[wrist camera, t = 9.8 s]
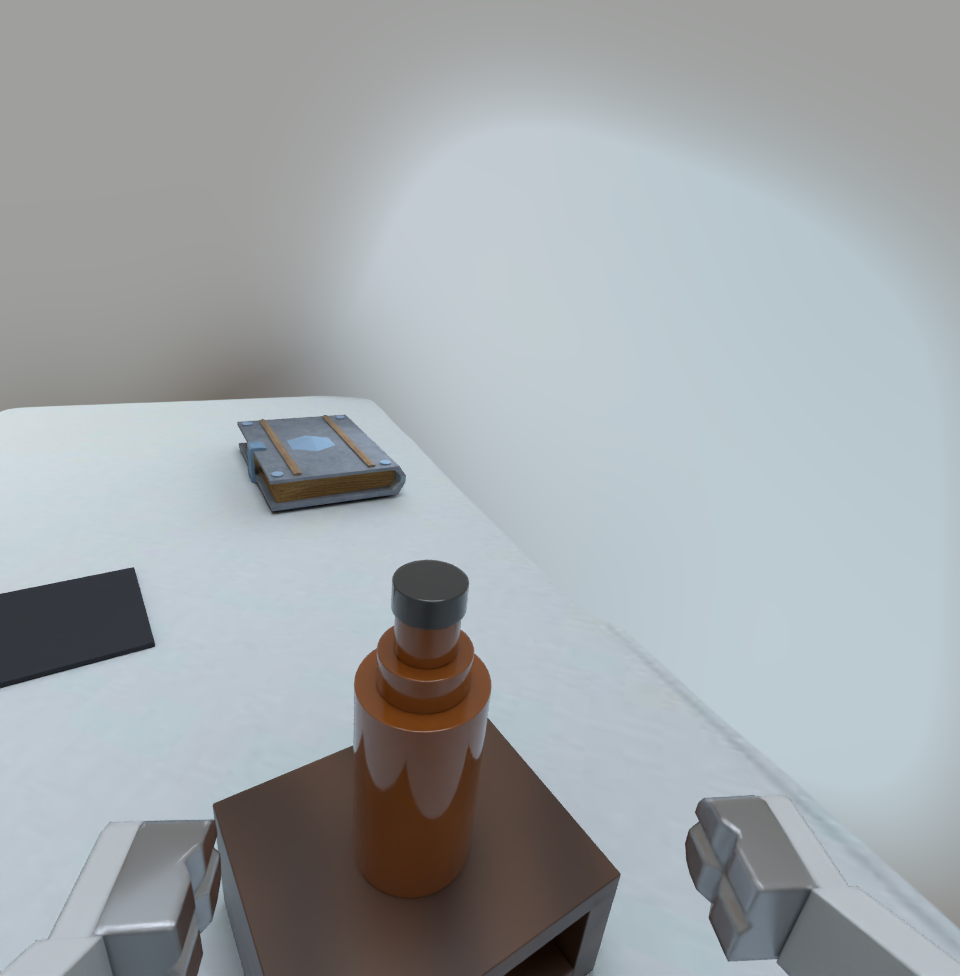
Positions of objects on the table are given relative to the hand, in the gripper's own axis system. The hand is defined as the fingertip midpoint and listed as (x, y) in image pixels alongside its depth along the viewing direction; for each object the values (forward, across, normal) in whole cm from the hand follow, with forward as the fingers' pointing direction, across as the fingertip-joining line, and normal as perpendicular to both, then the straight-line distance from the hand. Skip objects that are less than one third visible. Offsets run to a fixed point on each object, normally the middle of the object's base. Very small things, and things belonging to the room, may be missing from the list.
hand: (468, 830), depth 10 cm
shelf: (+11, 0, +23) cm, 25 cm away
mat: (+35, +28, +23) cm, 50 cm away
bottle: (+11, 0, +16) cm, 19 cm away
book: (+68, +12, +23) cm, 73 cm away
